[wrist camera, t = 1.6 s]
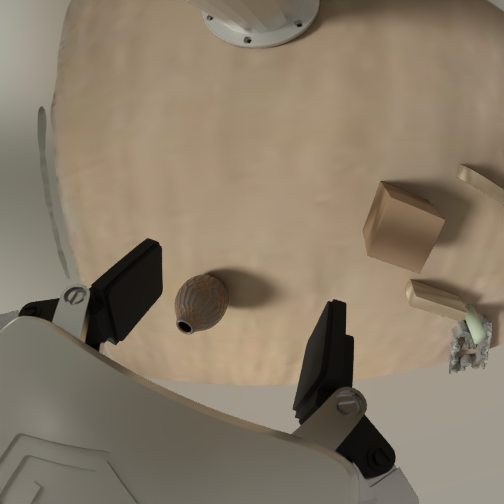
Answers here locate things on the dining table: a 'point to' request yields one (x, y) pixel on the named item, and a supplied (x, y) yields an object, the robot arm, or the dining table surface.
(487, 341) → the grey jagged open ring
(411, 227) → the walnut block
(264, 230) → the dining table surface
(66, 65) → the dining table surface
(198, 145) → the dining table surface
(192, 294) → the vase
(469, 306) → the goal posts
